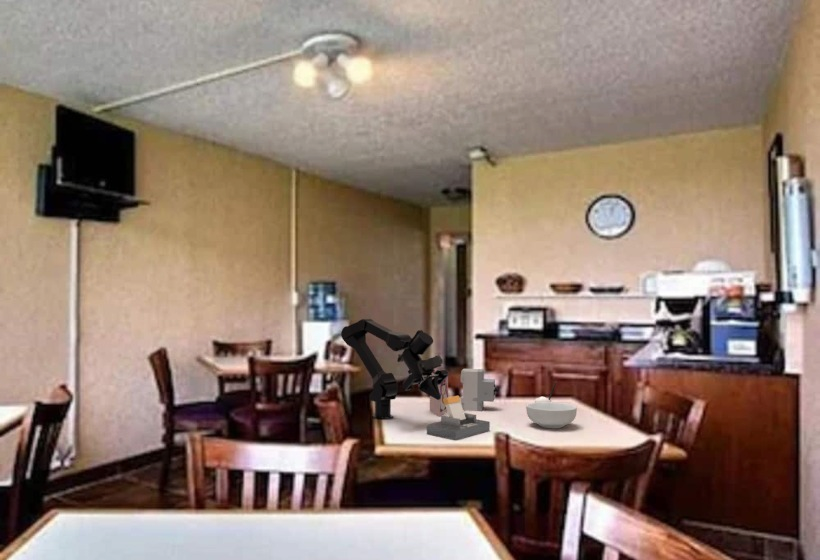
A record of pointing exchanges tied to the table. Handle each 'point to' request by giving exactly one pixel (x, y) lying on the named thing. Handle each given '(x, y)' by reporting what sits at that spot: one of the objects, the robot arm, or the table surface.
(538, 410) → the cereal bowl
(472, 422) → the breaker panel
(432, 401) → the pink box
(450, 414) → the lever
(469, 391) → the circuit breaker
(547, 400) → the white mound with stick
